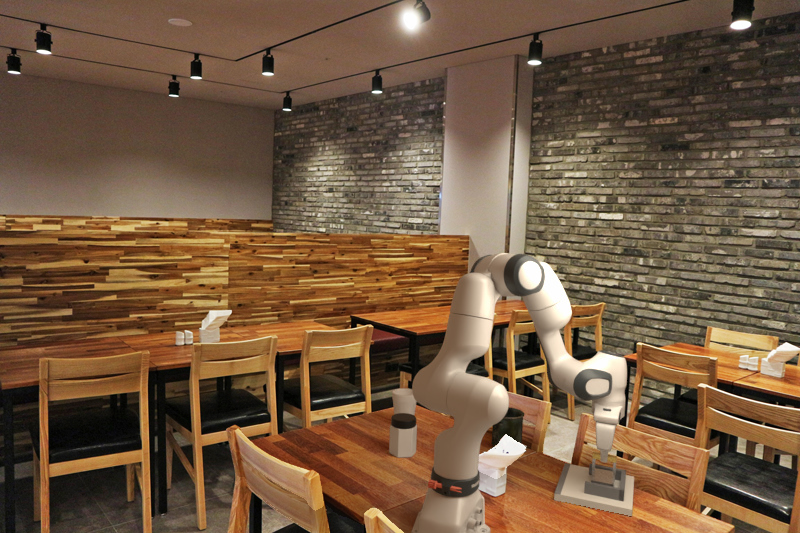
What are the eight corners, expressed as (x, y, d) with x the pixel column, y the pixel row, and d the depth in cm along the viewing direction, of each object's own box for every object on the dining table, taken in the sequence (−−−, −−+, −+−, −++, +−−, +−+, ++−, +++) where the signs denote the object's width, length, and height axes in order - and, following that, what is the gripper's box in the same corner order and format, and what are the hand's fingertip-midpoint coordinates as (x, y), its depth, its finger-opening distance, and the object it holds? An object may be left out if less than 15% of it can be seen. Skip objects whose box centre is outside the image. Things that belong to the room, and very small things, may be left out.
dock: (631, 517, 150) (633, 498, 150) (554, 500, 158) (555, 482, 158) (633, 483, 170) (634, 466, 170) (564, 469, 178) (565, 453, 178)
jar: (421, 454, 186) (422, 418, 185) (401, 460, 181) (403, 423, 180) (403, 445, 193) (404, 410, 192) (384, 451, 188) (385, 415, 187)
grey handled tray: (613, 495, 158) (615, 463, 157) (589, 490, 160) (591, 458, 160) (615, 482, 166) (617, 451, 165) (592, 477, 169) (594, 447, 168)
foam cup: (416, 431, 206) (418, 396, 205) (391, 431, 206) (392, 395, 205) (415, 422, 216) (417, 388, 215) (391, 421, 215) (392, 388, 214)
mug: (528, 445, 196) (529, 411, 196) (509, 459, 185) (511, 423, 184) (499, 437, 203) (501, 404, 202) (479, 450, 191) (481, 415, 190)
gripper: (599, 396, 172) (596, 440, 173) (593, 416, 153) (590, 466, 155) (621, 399, 170) (618, 444, 171) (618, 420, 151) (614, 471, 152)
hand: (605, 455), depth 163 cm, fingers open, 8 cm apart
